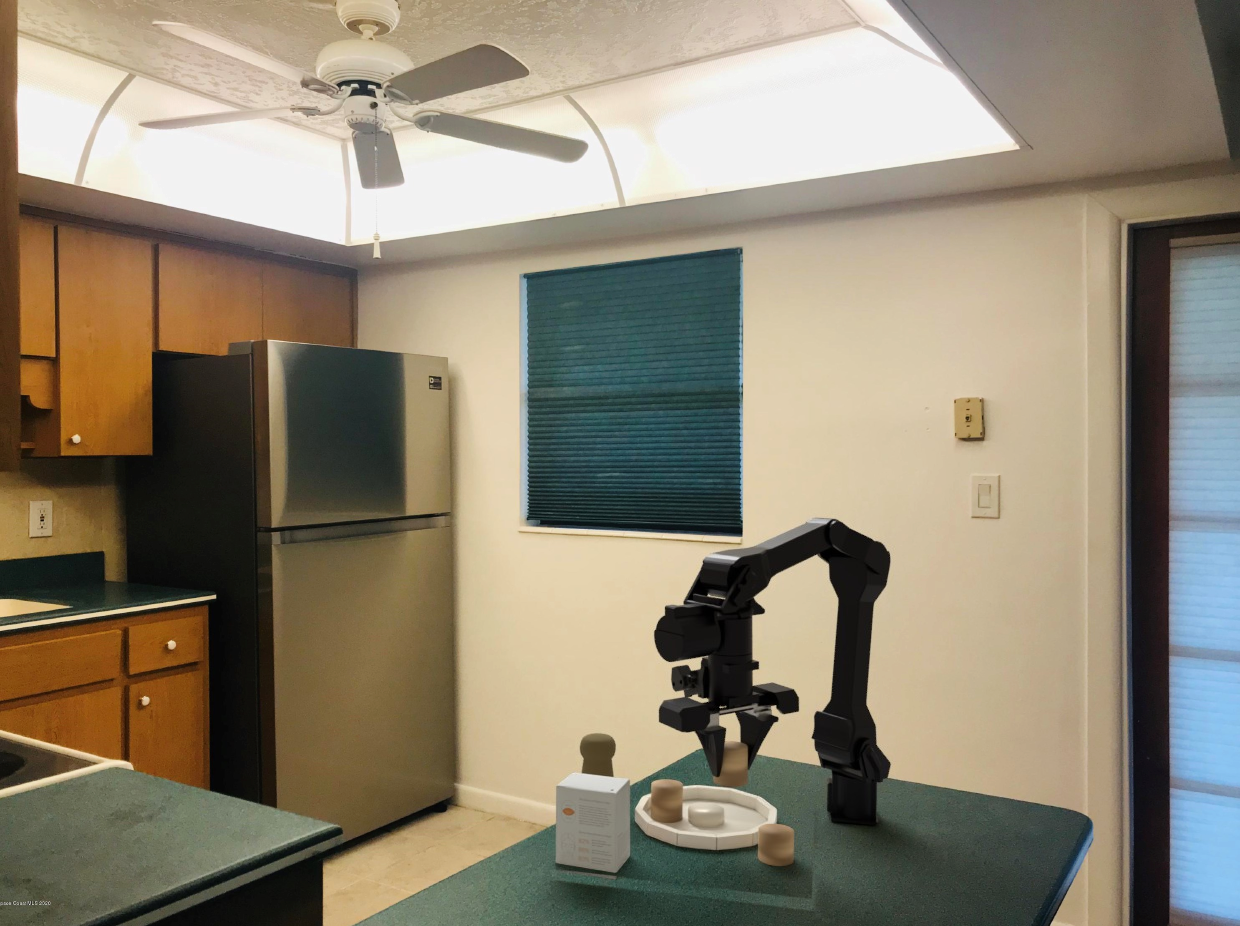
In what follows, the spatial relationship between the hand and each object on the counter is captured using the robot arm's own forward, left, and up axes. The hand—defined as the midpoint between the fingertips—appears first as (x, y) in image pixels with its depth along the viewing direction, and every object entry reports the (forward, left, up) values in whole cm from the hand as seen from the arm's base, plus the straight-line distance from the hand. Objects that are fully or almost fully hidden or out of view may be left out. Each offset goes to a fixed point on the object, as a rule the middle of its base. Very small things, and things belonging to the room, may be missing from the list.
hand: (730, 772), depth 118 cm
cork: (+20, -10, -11) cm, 25 cm away
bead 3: (-6, +2, -10) cm, 12 cm away
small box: (+16, +8, -11) cm, 21 cm away
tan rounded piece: (0, 0, -1) cm, 1 cm away
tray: (+4, -8, -10) cm, 14 cm away
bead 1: (+10, -8, -9) cm, 16 cm away
